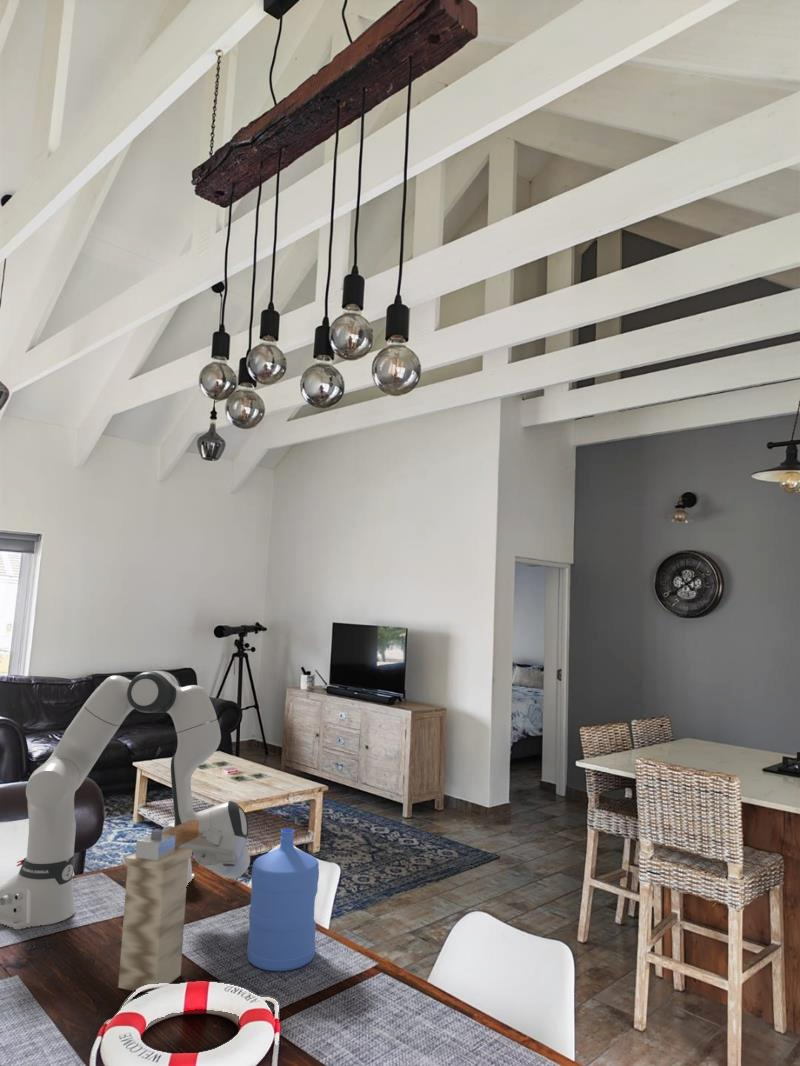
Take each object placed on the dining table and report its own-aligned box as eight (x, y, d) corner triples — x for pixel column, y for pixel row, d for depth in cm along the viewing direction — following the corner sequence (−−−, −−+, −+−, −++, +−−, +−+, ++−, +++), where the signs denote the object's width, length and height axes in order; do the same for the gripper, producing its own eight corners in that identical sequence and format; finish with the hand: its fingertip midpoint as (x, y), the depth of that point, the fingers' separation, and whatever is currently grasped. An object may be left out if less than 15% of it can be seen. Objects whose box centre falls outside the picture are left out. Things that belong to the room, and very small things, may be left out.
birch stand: (114, 988, 148) (124, 857, 151) (144, 966, 157) (153, 843, 160) (155, 997, 145) (165, 863, 148) (183, 974, 154) (192, 849, 158)
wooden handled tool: (183, 834, 168) (185, 811, 168) (204, 837, 166) (205, 814, 167) (135, 858, 151) (137, 832, 151) (157, 861, 149) (159, 835, 150)
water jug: (284, 980, 153) (291, 845, 157) (232, 959, 162) (239, 831, 165) (328, 953, 166) (334, 828, 170) (278, 935, 175) (284, 817, 178)
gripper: (180, 829, 180) (153, 813, 169) (253, 839, 174) (230, 823, 163) (171, 856, 176) (143, 840, 166) (245, 867, 170) (221, 852, 160)
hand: (187, 832), depth 164 cm, fingers open, 8 cm apart
